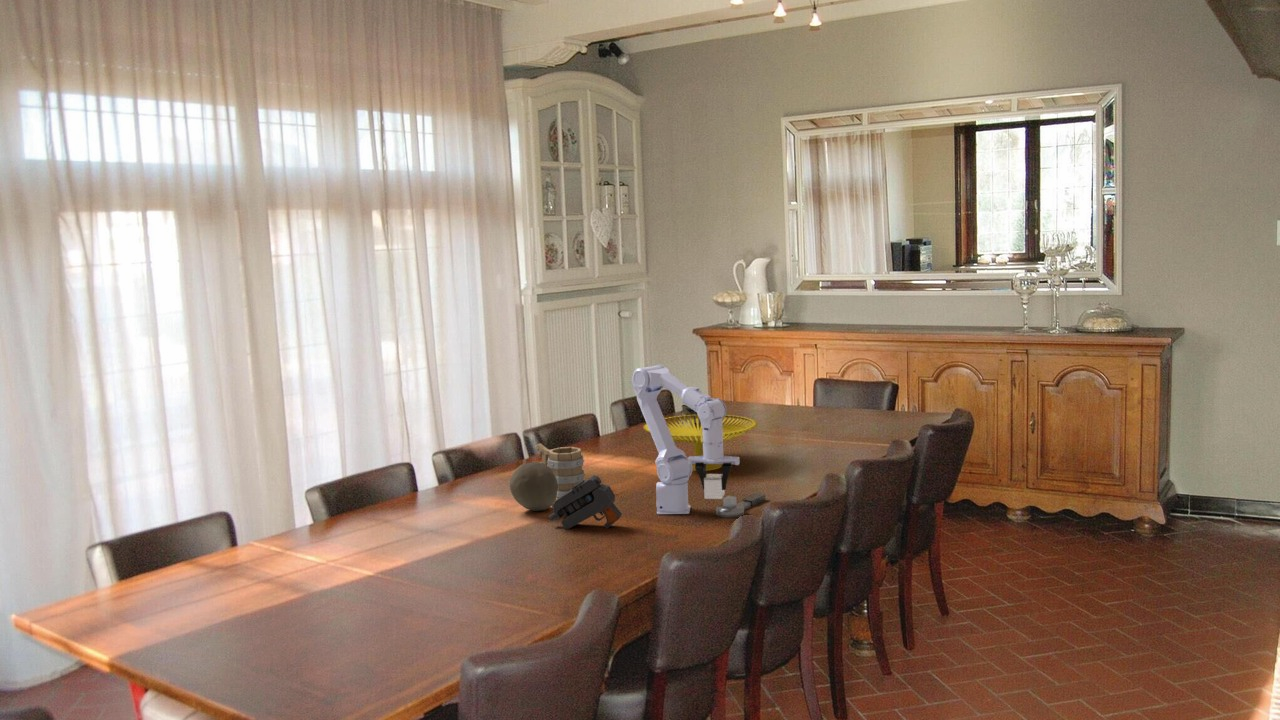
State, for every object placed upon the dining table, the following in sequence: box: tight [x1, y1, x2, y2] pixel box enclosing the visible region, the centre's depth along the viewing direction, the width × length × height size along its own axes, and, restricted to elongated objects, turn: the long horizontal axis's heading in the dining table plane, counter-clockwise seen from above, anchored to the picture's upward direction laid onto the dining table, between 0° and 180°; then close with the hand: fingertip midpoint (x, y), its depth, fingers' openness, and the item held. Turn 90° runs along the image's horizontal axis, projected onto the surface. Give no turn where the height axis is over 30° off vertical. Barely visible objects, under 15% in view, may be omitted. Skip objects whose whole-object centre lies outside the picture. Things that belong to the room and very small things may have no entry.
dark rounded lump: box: [678, 404, 701, 428], centre depth 425 cm, size 28×13×15 cm
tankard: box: [534, 442, 586, 499], centre depth 336 cm, size 20×13×15 cm, turn 47°
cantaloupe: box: [509, 461, 558, 512], centre depth 312 cm, size 14×14×15 cm
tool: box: [548, 474, 623, 530], centre depth 294 cm, size 6×19×15 cm, turn 78°
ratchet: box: [715, 492, 766, 519], centre depth 306 cm, size 22×8×5 cm, turn 144°
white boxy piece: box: [703, 473, 726, 500], centre depth 294 cm, size 5×5×6 cm
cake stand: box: [643, 414, 759, 472], centre depth 361 cm, size 40×40×15 cm
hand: (714, 488), depth 294 cm, fingers closed on white boxy piece, 5 cm apart
